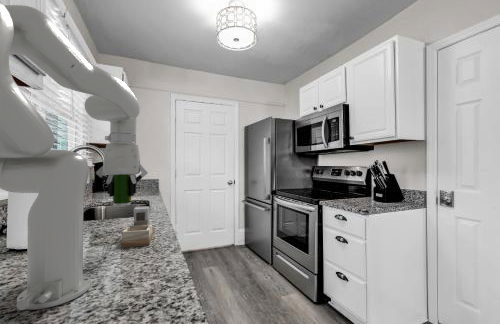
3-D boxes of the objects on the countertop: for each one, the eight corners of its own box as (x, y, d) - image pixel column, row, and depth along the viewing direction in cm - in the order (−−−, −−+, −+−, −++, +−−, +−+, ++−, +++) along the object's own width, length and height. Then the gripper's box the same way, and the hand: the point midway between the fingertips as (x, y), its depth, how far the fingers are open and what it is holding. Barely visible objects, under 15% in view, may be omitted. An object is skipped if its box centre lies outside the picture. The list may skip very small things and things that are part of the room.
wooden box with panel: (149, 245, 84) (149, 213, 84) (120, 247, 82) (121, 215, 82) (154, 232, 99) (154, 206, 99) (130, 234, 97) (130, 207, 97)
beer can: (113, 206, 74) (114, 167, 74) (112, 204, 78) (112, 167, 79) (132, 205, 77) (133, 167, 77) (130, 203, 81) (130, 167, 82)
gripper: (88, 137, 72) (87, 198, 72) (149, 139, 77) (149, 196, 76) (97, 140, 80) (96, 195, 79) (152, 142, 84) (152, 194, 84)
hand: (122, 195), depth 78 cm, fingers closed on beer can, 5 cm apart
